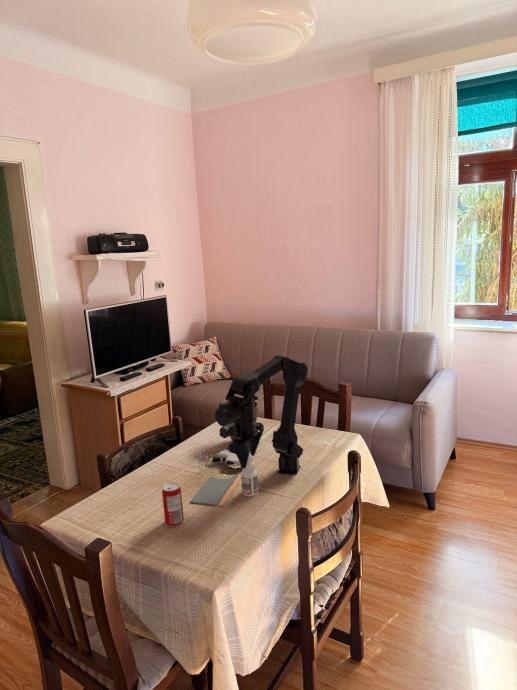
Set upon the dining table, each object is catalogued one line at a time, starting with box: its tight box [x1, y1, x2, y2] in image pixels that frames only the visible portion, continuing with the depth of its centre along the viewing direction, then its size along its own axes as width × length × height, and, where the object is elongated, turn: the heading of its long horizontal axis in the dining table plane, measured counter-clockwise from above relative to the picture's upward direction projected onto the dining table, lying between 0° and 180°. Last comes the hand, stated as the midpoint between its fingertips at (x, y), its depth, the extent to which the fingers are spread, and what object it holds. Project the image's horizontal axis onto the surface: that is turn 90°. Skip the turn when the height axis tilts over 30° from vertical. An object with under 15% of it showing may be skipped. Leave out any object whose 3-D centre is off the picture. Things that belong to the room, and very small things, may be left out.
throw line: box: [218, 474, 241, 508], centre depth 163 cm, size 1×20×1 cm, turn 163°
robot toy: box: [208, 448, 257, 469], centre depth 182 cm, size 12×4×15 cm
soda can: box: [161, 481, 185, 527], centre depth 145 cm, size 6×6×12 cm
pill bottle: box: [240, 462, 259, 497], centre depth 160 cm, size 5×5×10 cm
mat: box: [189, 474, 238, 507], centre depth 165 cm, size 9×20×1 cm, turn 163°
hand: (248, 461), depth 159 cm, fingers open, 9 cm apart
